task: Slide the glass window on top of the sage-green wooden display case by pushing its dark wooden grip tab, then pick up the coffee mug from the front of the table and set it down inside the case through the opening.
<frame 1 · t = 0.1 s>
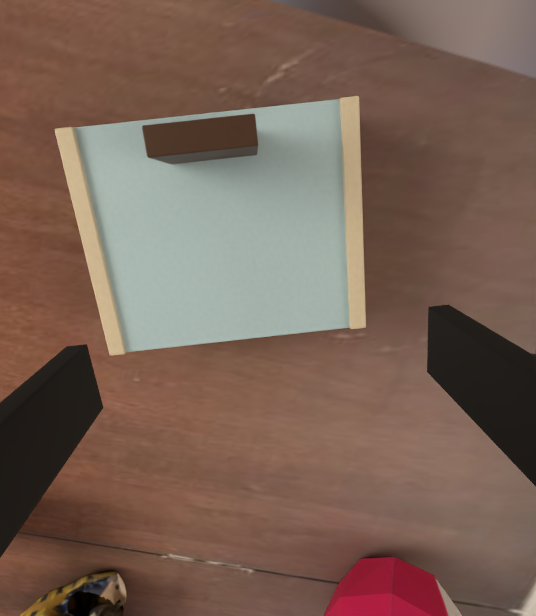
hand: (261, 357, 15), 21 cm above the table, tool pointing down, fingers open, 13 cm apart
decorative object: (374, 578, 48), on the table
window: (221, 241, 25), point 9 cm above the table, slide at 0.0 cm
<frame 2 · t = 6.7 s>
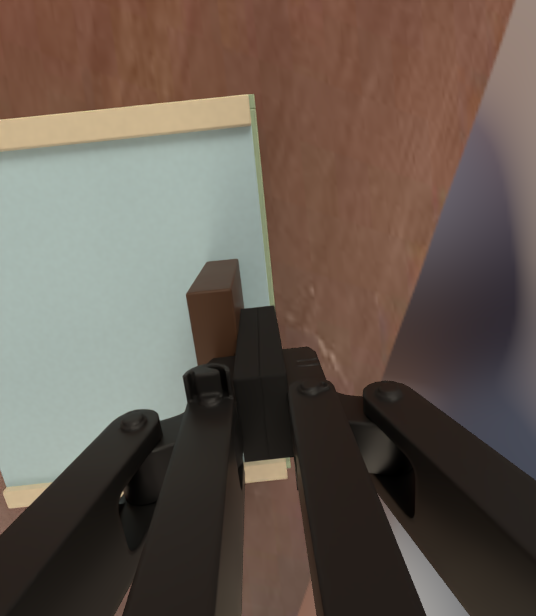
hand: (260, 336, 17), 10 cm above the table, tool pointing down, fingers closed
display case: (151, 294, 26), on the table
window: (91, 351, 17), point 9 cm above the table, slide at 0.3 cm, touching gripper
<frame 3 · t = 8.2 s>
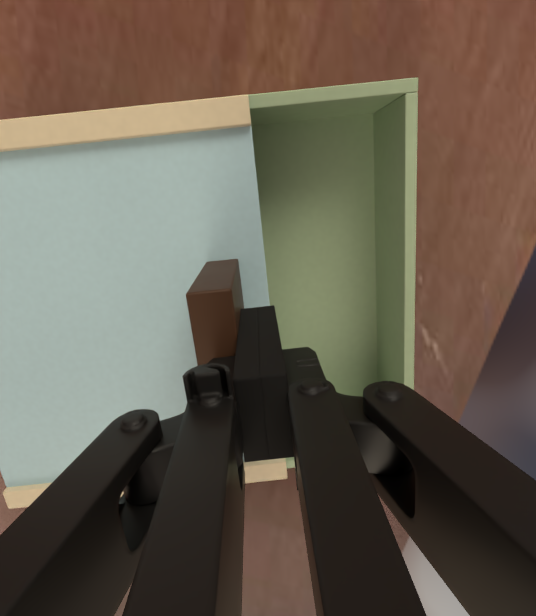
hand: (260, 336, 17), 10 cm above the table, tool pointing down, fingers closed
display case: (261, 283, 26), on the table
window: (91, 351, 17), point 9 cm above the table, slide at 7.8 cm, touching gripper
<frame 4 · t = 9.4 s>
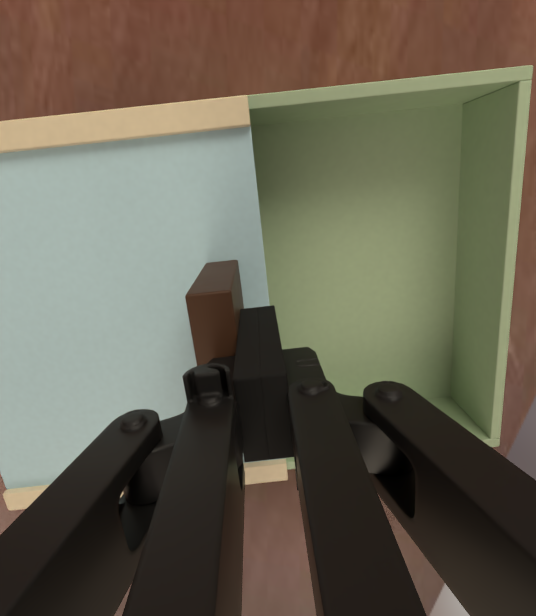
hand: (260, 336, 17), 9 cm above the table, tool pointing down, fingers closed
display case: (338, 275, 26), on the table
window: (91, 353, 17), point 9 cm above the table, slide at 13.0 cm, touching gripper
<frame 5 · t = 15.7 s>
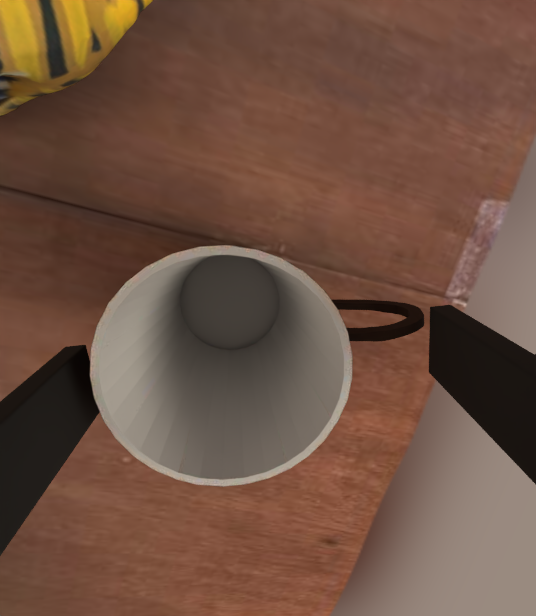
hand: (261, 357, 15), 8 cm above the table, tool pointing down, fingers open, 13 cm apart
coffee mug: (255, 307, 23), on the table, touching gripper
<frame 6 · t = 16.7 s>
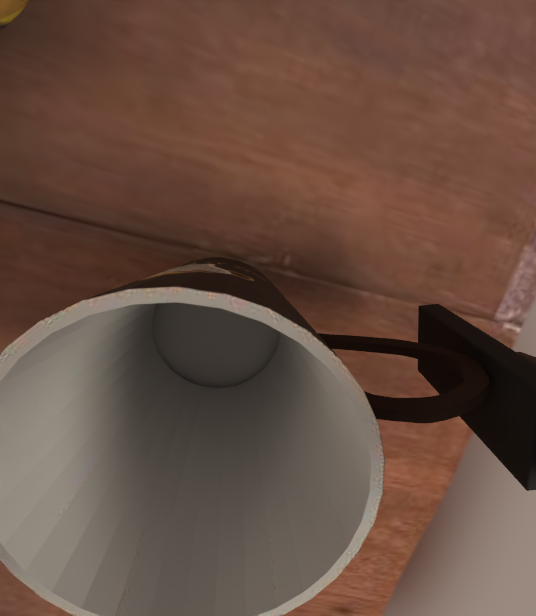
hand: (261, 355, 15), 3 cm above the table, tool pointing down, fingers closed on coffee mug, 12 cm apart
coffee mug: (249, 334, 18), on the table, touching gripper
when the fingers open (4 cm above the table, at t = 27.7 s): coffee mug stays where it is, resting on display case.
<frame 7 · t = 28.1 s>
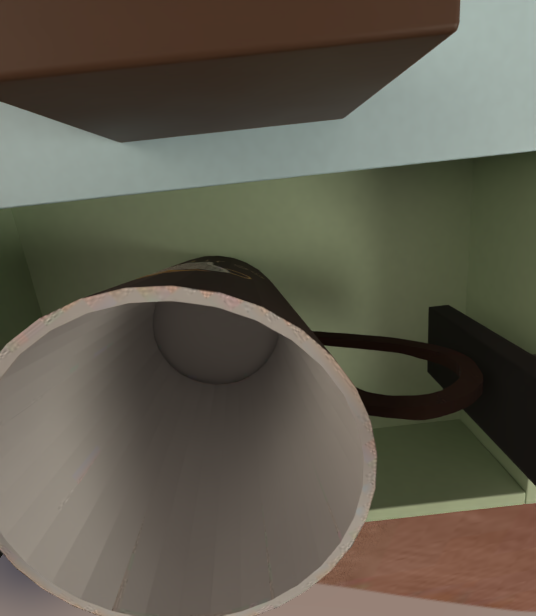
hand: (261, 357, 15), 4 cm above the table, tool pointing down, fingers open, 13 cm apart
display case: (256, 292, 18), on the table
coffee mug: (248, 332, 18), point 1 cm above the table, touching display case
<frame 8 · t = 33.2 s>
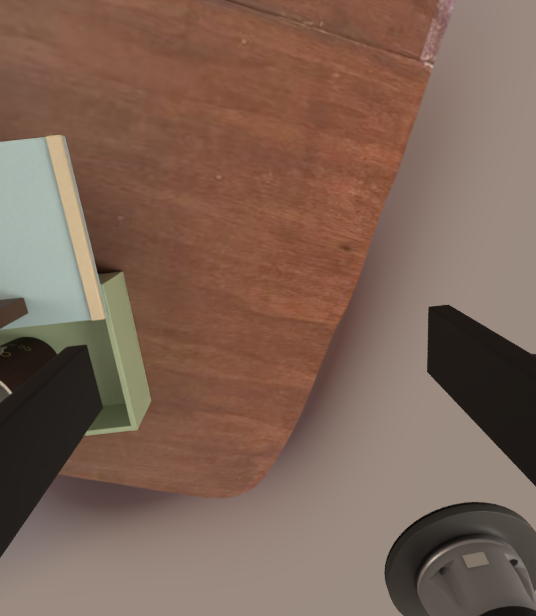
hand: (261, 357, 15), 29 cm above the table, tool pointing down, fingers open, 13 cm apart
display case: (50, 349, 45), on the table
coffee mug: (46, 365, 45), point 1 cm above the table, touching display case
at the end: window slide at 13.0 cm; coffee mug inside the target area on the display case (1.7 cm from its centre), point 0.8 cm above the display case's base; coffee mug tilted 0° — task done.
